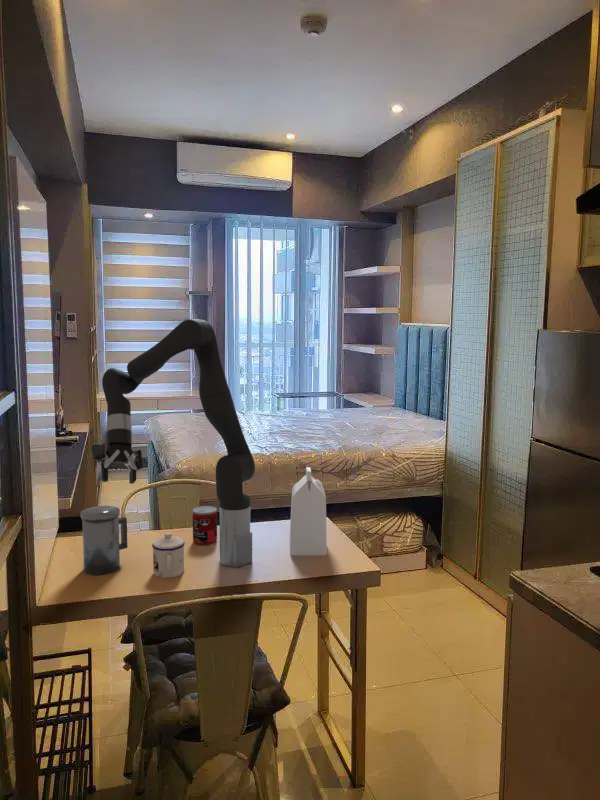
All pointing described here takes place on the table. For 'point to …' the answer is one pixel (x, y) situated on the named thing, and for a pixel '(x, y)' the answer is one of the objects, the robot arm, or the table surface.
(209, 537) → the canned food
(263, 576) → the table surface
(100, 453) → the plunger
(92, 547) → the press carafe
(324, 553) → the milk
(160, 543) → the teacup with lid
